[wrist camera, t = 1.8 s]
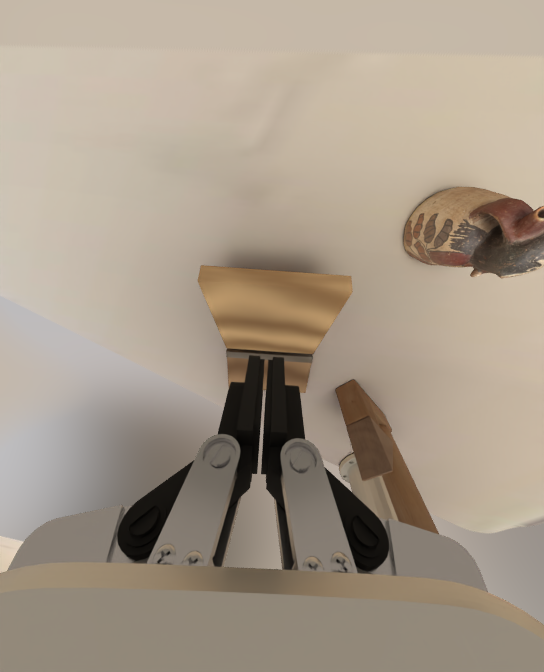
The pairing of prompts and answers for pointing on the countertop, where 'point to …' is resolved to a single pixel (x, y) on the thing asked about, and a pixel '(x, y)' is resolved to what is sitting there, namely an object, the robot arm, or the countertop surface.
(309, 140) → the countertop surface
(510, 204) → the figurine
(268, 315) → the oak plank
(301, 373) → the brown flat block
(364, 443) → the wooden block stack
